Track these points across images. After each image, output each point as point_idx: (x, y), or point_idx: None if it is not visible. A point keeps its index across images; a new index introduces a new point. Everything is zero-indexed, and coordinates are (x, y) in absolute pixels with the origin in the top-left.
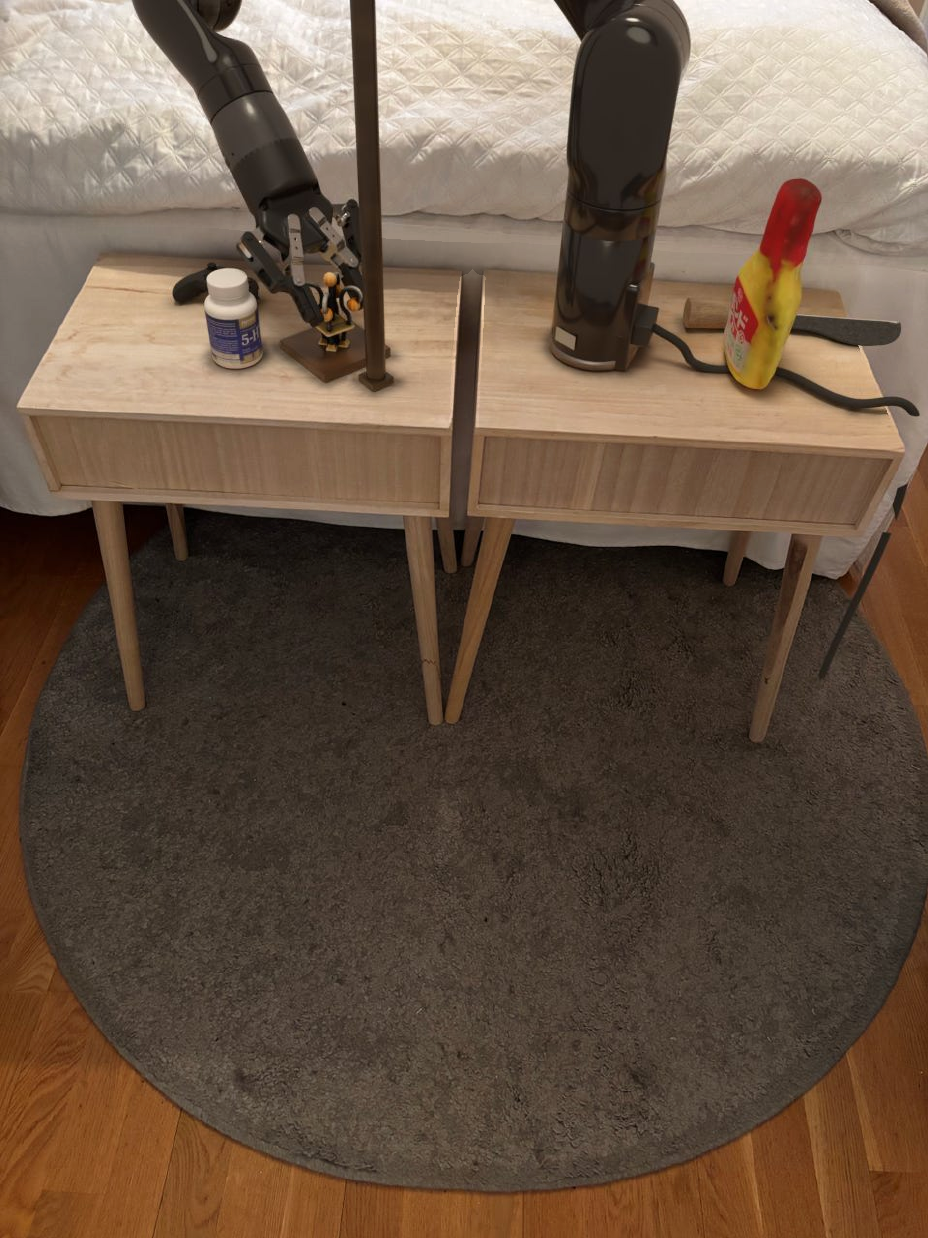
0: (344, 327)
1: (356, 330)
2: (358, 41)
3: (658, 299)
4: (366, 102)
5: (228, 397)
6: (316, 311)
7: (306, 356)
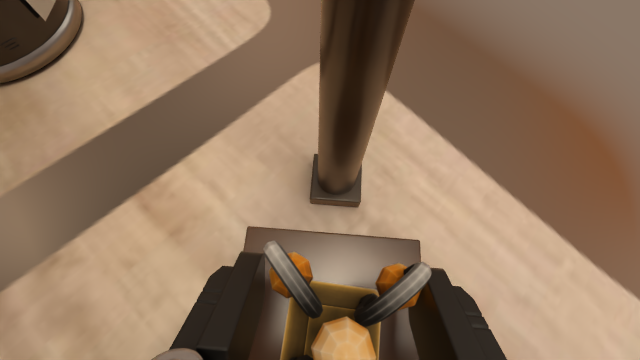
0: (323, 289)
1: None
2: None
3: None
4: None
5: (614, 344)
6: (445, 284)
7: None
